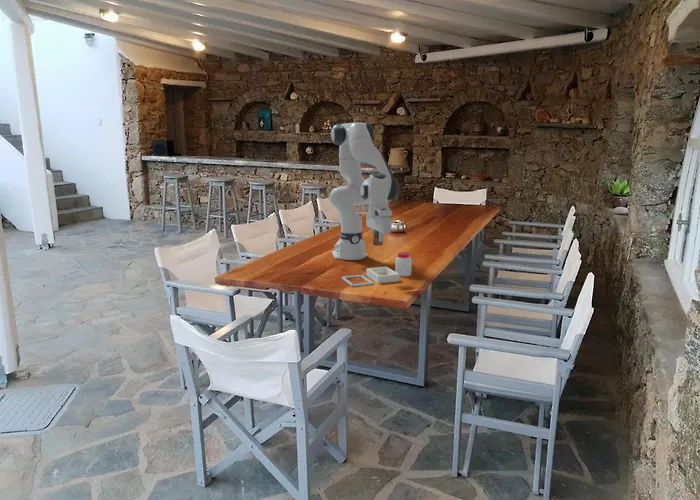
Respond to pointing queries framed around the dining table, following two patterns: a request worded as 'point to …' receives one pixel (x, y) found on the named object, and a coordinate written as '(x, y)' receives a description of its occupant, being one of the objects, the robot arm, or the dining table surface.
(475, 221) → the dining table surface
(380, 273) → the white storage bin
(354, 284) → the tray
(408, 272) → the pill bottle
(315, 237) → the dining table surface
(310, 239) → the dining table surface
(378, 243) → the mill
